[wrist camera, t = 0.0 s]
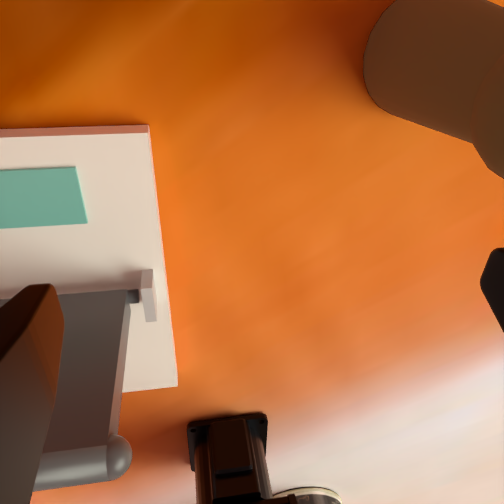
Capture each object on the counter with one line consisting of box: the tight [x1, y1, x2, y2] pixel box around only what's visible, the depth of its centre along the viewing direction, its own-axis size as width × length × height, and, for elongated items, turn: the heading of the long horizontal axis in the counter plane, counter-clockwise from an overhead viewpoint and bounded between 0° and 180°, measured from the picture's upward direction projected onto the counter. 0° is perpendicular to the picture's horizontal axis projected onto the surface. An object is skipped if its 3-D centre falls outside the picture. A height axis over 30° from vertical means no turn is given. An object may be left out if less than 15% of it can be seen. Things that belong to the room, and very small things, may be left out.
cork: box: [363, 0, 504, 179], centre depth 17 cm, size 6×6×11 cm
